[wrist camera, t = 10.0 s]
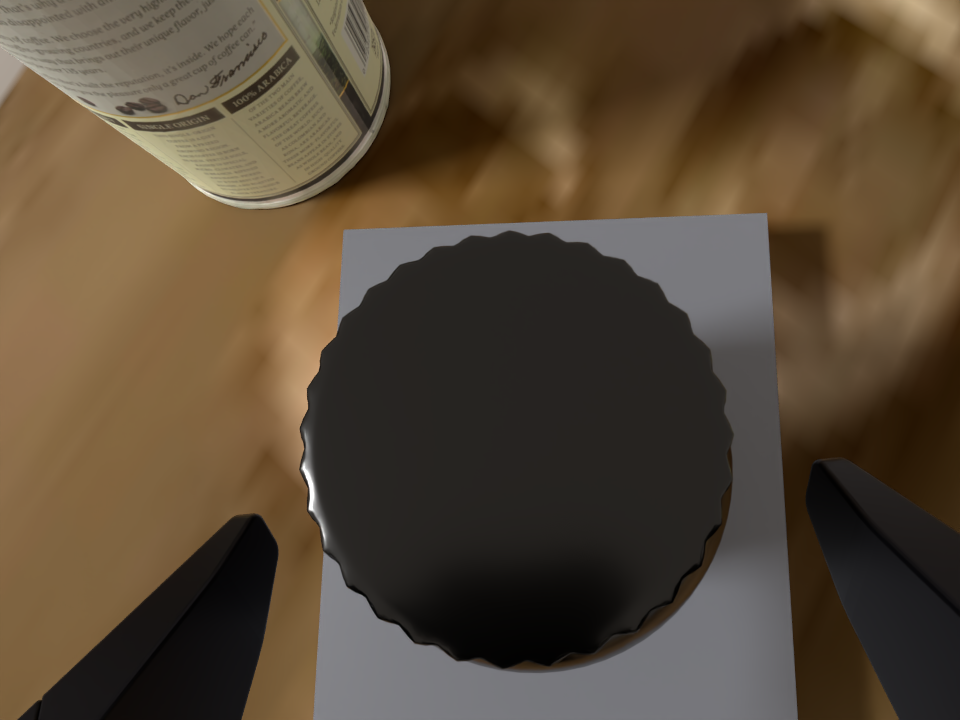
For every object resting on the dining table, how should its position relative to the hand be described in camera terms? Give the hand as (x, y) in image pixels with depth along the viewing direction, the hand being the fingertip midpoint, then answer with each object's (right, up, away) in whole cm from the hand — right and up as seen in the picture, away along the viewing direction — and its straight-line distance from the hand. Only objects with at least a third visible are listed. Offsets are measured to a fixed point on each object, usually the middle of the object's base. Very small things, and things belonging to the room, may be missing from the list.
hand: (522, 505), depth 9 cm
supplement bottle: (+1, -1, +9) cm, 9 cm away
